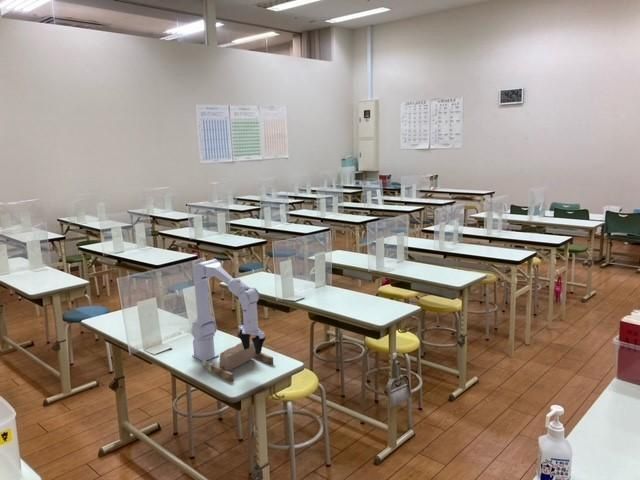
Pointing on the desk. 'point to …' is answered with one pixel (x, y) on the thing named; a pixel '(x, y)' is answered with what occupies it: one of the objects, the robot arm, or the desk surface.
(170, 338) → the desk surface
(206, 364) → the lane
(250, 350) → the brick
